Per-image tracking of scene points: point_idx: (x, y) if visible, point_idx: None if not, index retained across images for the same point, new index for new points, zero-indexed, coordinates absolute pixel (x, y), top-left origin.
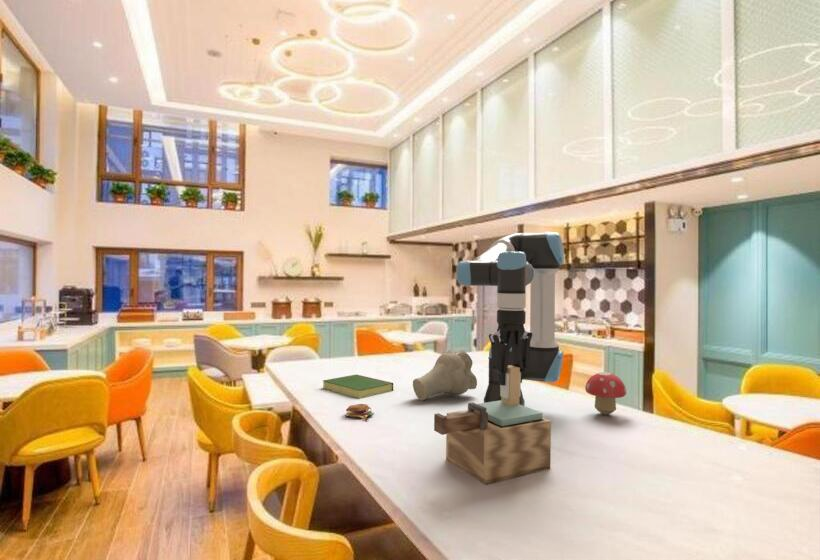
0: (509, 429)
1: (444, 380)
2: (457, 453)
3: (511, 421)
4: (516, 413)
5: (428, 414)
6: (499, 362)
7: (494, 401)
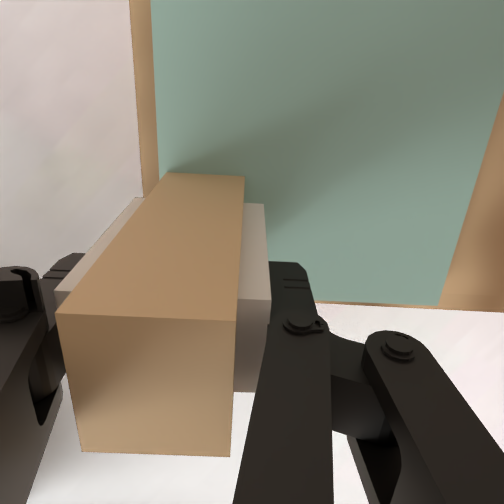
0: None
1: None
2: None
3: None
4: (332, 19)
5: (221, 500)
6: (449, 436)
7: None
